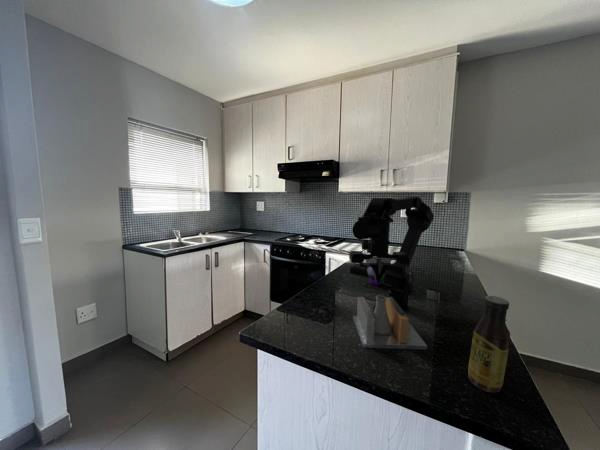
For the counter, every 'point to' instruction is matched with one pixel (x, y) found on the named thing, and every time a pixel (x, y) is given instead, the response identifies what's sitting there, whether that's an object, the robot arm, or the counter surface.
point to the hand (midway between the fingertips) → (377, 282)
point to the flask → (381, 316)
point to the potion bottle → (373, 277)
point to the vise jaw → (397, 320)
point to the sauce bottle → (490, 346)
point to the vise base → (374, 340)
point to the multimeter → (360, 269)
